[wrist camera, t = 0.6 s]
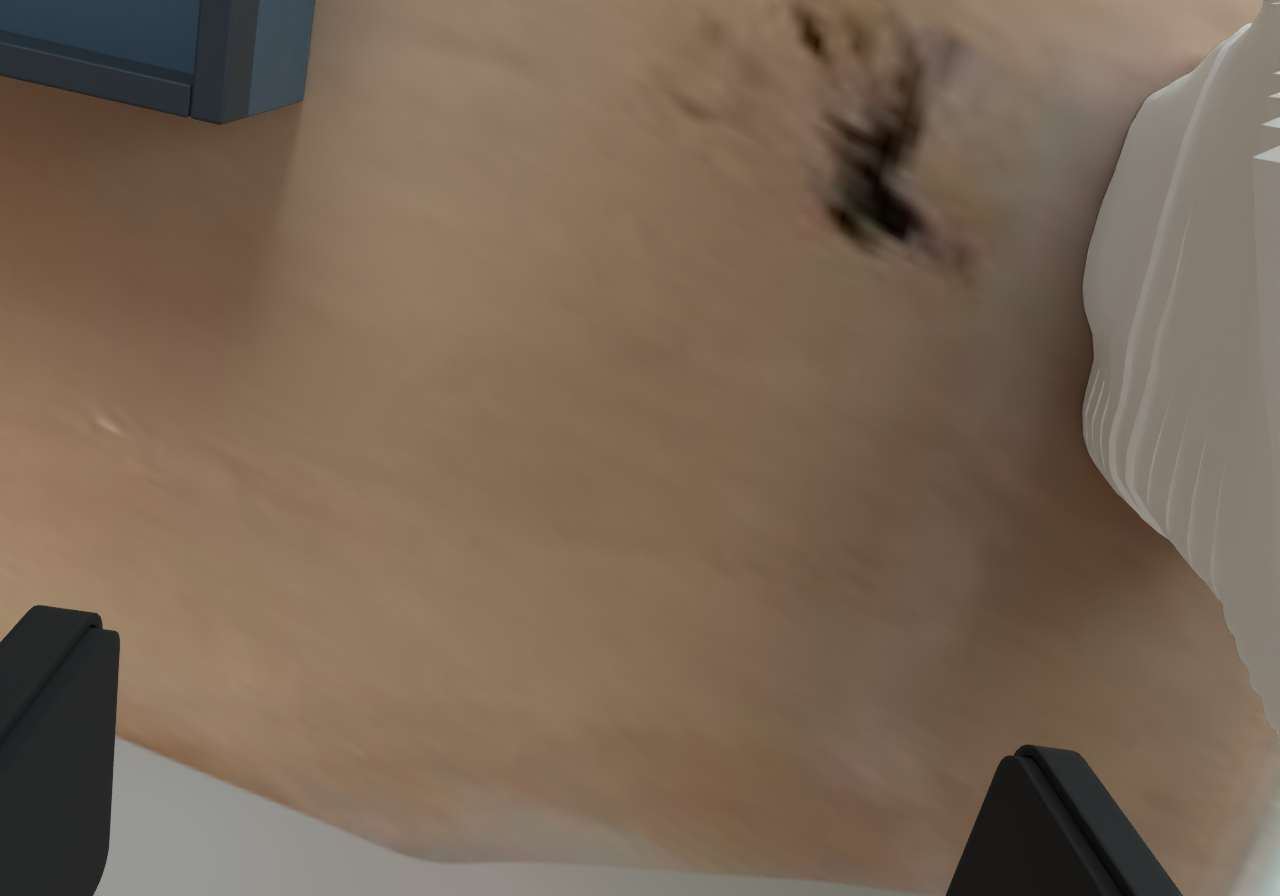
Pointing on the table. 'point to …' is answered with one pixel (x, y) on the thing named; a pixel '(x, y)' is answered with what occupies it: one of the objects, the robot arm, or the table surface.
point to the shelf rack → (163, 52)
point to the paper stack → (1199, 332)
